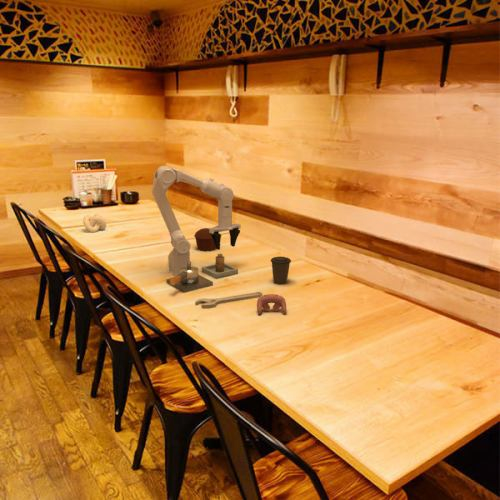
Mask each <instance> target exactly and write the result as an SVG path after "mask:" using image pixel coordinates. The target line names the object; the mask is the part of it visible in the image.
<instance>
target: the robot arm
mask: <svg viewBox="0 0 500 500" xmlns="http://www.w3.org/2000/svg"><path fill="white" fill-rule="evenodd" d="M214 180H215V179H213V178H204V179H201V178H198V177H196V176H194V175H192V174H190V173H188V172H185V171H184V170H181V169H177V168H175V167H169V166H168V165H161V166H159V167H158V168H157V169H156V171H155V172H154V174H153V181H152V182H153V183H152V187H151V193H152V196H153V197H154V200H155V203H156V205H157V207H158V210H159V211H160V214H161V217H162V219H163V222H164V224H165V225H166V228H167V230H168V233H169V235H170V244H171V246H172V247H173V248H172V250H170V252H169V253H168V256H167V257H168V259H167V263H168V269H167V270H166V272H168V273H170V274H171V275H173V276H174V277H175V276H177V275H178V274H180V269H181V268H182V267H187V261H191V257H190V256H191V253H190V250H191V248H192V247H191V243H190V241H189V240H187V238H186V237H185V235H184V233H183V231H182V230H181V227H180V224H179V222H178V220H177V218H176V215H175V212H174V211H173V208H172V206H171V203H170V201H169V199H168V196H167V191H168V189H169V188H170V187H171V186H172V185H173V184H174V183H179V182H185V183H188V184H190V185H192V186H196V187H198V188H199V189H200V190H201V192H202V193H204V194H206V195H209V196H211V197H214V198H217V200H218V202H217V205H218V206H217V209H218V210H217V213H218V215H217V221H218V222H217V223H218V224H217V225H216V226H213V227H209V233H210V235H211V236H212V238H213V240H214V243H215V247H216V249H215V250H221V238H222V236H223V235H222V233H221V232H227V231H228V232H229V238H230V239H229V240H230V241H229V242H230V246H231V247H236V243H237V239H238V237H239V235H240V233H241V230H240V229H241V228H242V227H241V224H240V223H233V200H234V198H235V194H234V192H233V190H232V188H231V187H230V188H229V187H228V186H226V185H225V184H224V183H218V182H217V181H214Z"/></svg>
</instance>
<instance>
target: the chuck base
mask: <svg viewBox="0 0 500 500" xmlns="http://www.w3.org/2000/svg"><path fill="white" fill-rule="evenodd" d="M172 278H173V277H170V278H166V284H168V285H170V286H171V287H173V288H174V289H175V290H178V291H179V292H181V293H188V292H192V291H196V290H200V289H204V288H205V289H206V288H209V287H212V286H214V282H213V281H212V280H210V279H208V278H207V277H204V276H203V275H200V274H198V278H199V280H198V281H197V282H195V283H183V282H181V281H180V282H178V283H177V284H175V285H171V284H170V279H172Z"/></svg>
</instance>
